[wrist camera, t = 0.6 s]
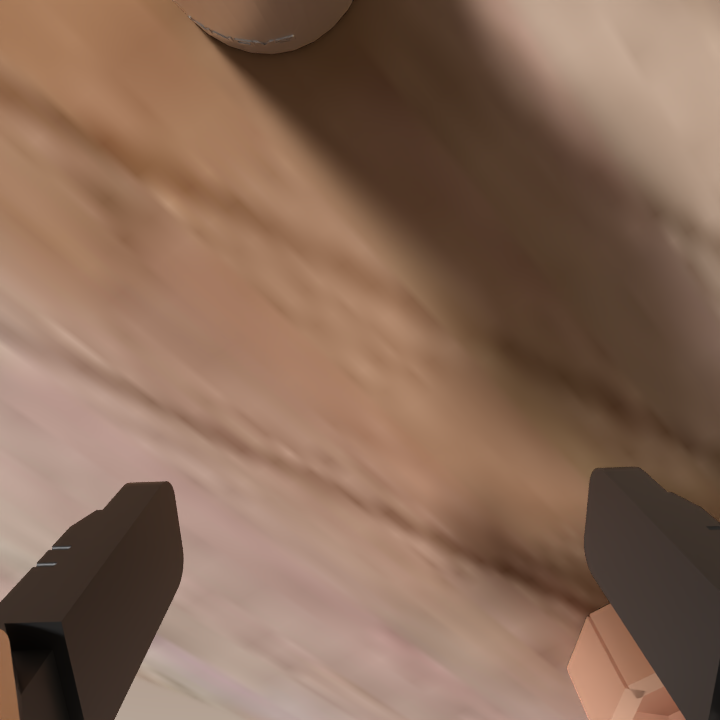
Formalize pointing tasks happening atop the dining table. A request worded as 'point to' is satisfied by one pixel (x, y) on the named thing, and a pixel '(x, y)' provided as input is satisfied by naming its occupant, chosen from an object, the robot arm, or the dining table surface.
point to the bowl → (616, 674)
